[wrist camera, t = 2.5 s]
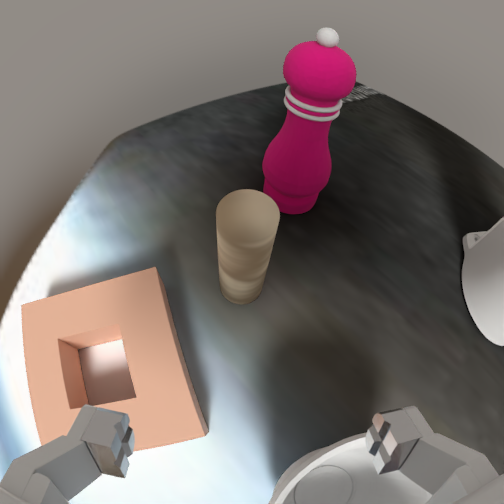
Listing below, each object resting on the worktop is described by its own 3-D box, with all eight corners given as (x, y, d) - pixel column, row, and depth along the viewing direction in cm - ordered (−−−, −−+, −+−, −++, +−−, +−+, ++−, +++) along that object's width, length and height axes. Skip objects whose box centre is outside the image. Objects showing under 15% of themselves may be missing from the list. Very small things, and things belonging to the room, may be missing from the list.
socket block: (164, 285, 28) (155, 266, 24) (208, 431, 21) (205, 436, 18) (42, 319, 24) (21, 304, 21) (67, 455, 18) (45, 458, 15)
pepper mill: (250, 177, 35) (267, 13, 18) (304, 168, 37) (343, 19, 19) (271, 224, 32) (309, 41, 15) (330, 211, 33) (394, 52, 16)
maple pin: (253, 260, 30) (266, 184, 20) (268, 297, 28) (289, 230, 18) (214, 271, 29) (208, 196, 19) (227, 309, 27) (226, 247, 17)
